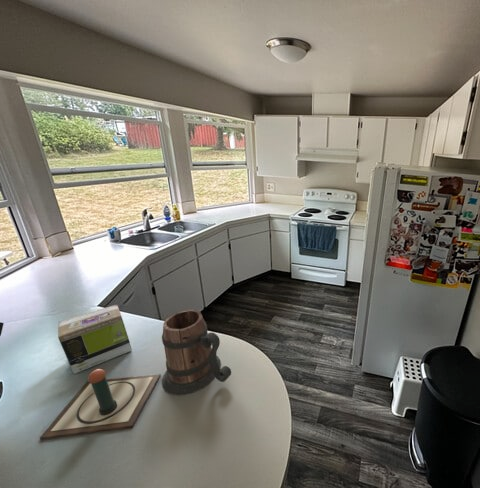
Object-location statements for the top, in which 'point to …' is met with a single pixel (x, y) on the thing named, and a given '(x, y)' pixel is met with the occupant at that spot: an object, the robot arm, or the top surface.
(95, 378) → the dot stamp
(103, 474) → the top surface
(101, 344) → the tea box
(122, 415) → the sketch board
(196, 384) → the tankard
